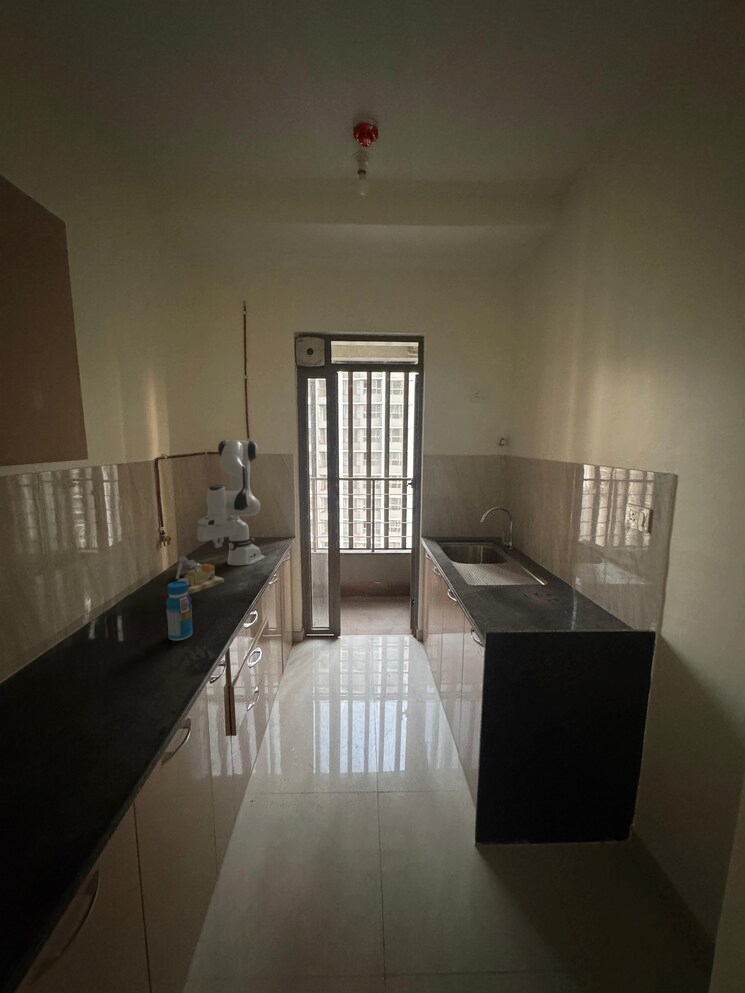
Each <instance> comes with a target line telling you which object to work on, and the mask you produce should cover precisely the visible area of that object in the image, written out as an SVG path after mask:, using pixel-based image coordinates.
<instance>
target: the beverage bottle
mask: <svg viewBox="0 0 745 993" xmlns="http://www.w3.org/2000/svg"><path fill="white" fill-rule="evenodd" d="M171 582H172V581H171ZM171 582H169V583H168V584H167V588H166V589H167V594H168V597H167V600H166V602H165V605H166V606H167V607H166V610H165V613H166V615H167V616H166V617H167V618H166V619H167V628H168V630H167V633H168V635H167V636H168V637H167V638H168V639H169V640H172V641H174V642H175V641H183V640H187V639H188V638H191V636H192V635H193V633H194V628H193V617H192V615H193V614H192V612H193V611H192V609H193V606H192V604H191V603H192V598H191V596H190V594H189V595H188V593H187V592H188V583H187V582H186V581H176V582H172V583H171Z"/></svg>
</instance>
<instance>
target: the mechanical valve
mask: <svg viewBox="0 0 745 993" xmlns="http://www.w3.org/2000/svg"><path fill="white" fill-rule="evenodd" d="M194 563H197V562H196V560H195V559H191V560H188V558H187V556H186V555H181V556H179V557H178V565H177V568H176V570H177V571H176V576H175V578H173V579H172V580H171V581H170V583H172V582H176V581H178V580H179V579H180V575H181V577H182V578H185V575H187V574H188V571H190V570H193V569H195V567H193V564H194Z"/></svg>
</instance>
